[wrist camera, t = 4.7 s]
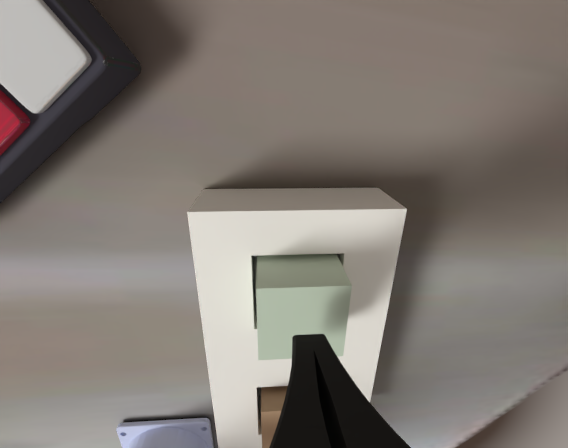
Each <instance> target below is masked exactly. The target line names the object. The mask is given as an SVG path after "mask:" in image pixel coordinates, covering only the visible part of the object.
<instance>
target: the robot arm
mask: <svg viewBox="0 0 568 448" xmlns="http://www.w3.org/2000/svg"><path fill="white" fill-rule="evenodd" d="M116 431H117V433H118V436H119V439H120V442H121V445H122V448H214V445H213V438H212V431H211V424H210V420H209V419H208V418H191V419H175V420H158V421H142V422H125V423H120V424H119V425H118V427H117V429H116ZM269 448H411V447H410V446H409V445H408V444H407V443H406V442H405V441H404V440H403V439H402V438H401V437H400V436H399V435H398V434H397V433H396V432H395V431H394V430H393V429H392V428H391V427H390V426H389V425H388V423H387V422H386V421H385V420H384V419H383V418H382V417H381V415H380V414H379V413H378V412H377V411H376V410H375V408H374V407H373V406H372V405H371V404H370V402H369V401H368V400H367V399H366V397H365V396H364V395H363V393H362V392H361V391H360V389H359V388H358V387H357V385H356V384H355V383H354V381H353V380H352V378H351V377H350V375H349V374H348V372H347V371H346V369H345V368H344V367H343V365H342V363H341V362H340V360H339V359H338V357H337V355H336V354H335V352H334V350H333V349H332V347H331V345H330V343H329V342H328V340H327V338H326V336H325V335H324V334H306V335H294V336H293V337H292V366H291V372H290V378H289V383H288V387H287V391H286V396H285V400H284V404H283V407H282V411H281V414H280V417H279V421H278V424H277V427H276V430H275V433H274V436H273V439H272V441H271V444H270V447H269Z"/></svg>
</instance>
